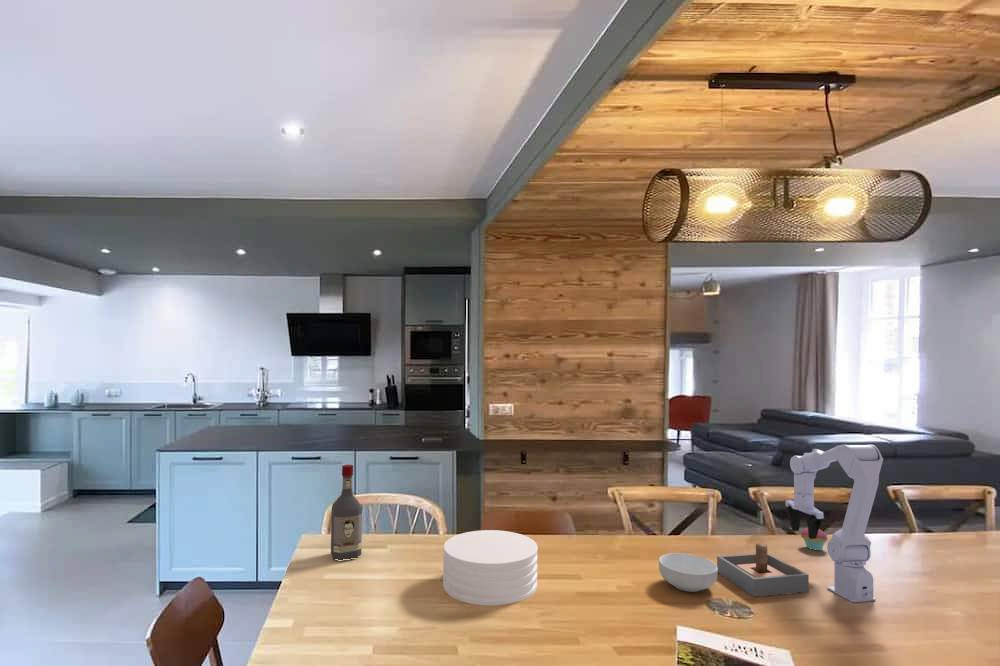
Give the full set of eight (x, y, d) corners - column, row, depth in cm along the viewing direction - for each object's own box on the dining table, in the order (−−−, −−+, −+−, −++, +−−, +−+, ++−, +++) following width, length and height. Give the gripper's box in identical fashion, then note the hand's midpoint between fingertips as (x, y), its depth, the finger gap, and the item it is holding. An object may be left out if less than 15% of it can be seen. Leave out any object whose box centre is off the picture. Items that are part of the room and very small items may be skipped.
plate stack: (424, 592, 160) (424, 551, 160) (473, 559, 185) (474, 525, 185) (511, 615, 147) (511, 571, 147) (551, 576, 172) (552, 539, 172)
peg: (769, 579, 169) (769, 546, 169) (761, 581, 168) (761, 547, 168) (761, 575, 172) (761, 542, 172) (753, 576, 171) (753, 544, 171)
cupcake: (832, 553, 195) (832, 518, 195) (808, 552, 195) (808, 518, 195) (819, 544, 203) (819, 511, 204) (795, 543, 204) (795, 510, 204)
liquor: (329, 553, 188) (331, 464, 189) (357, 549, 192) (358, 462, 193) (333, 563, 180) (335, 469, 181) (362, 558, 184) (364, 467, 185)
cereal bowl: (722, 602, 156) (722, 576, 156) (661, 596, 159) (661, 571, 159) (712, 577, 173) (712, 554, 173) (656, 572, 176) (656, 550, 176)
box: (808, 592, 163) (808, 574, 163) (754, 597, 159) (754, 579, 159) (766, 568, 180) (766, 552, 181) (717, 571, 177) (717, 556, 177)
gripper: (777, 487, 189) (777, 528, 189) (809, 499, 175) (810, 542, 175) (795, 486, 191) (795, 526, 190) (829, 498, 176) (829, 541, 176)
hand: (803, 534), depth 182 cm, fingers open, 7 cm apart
